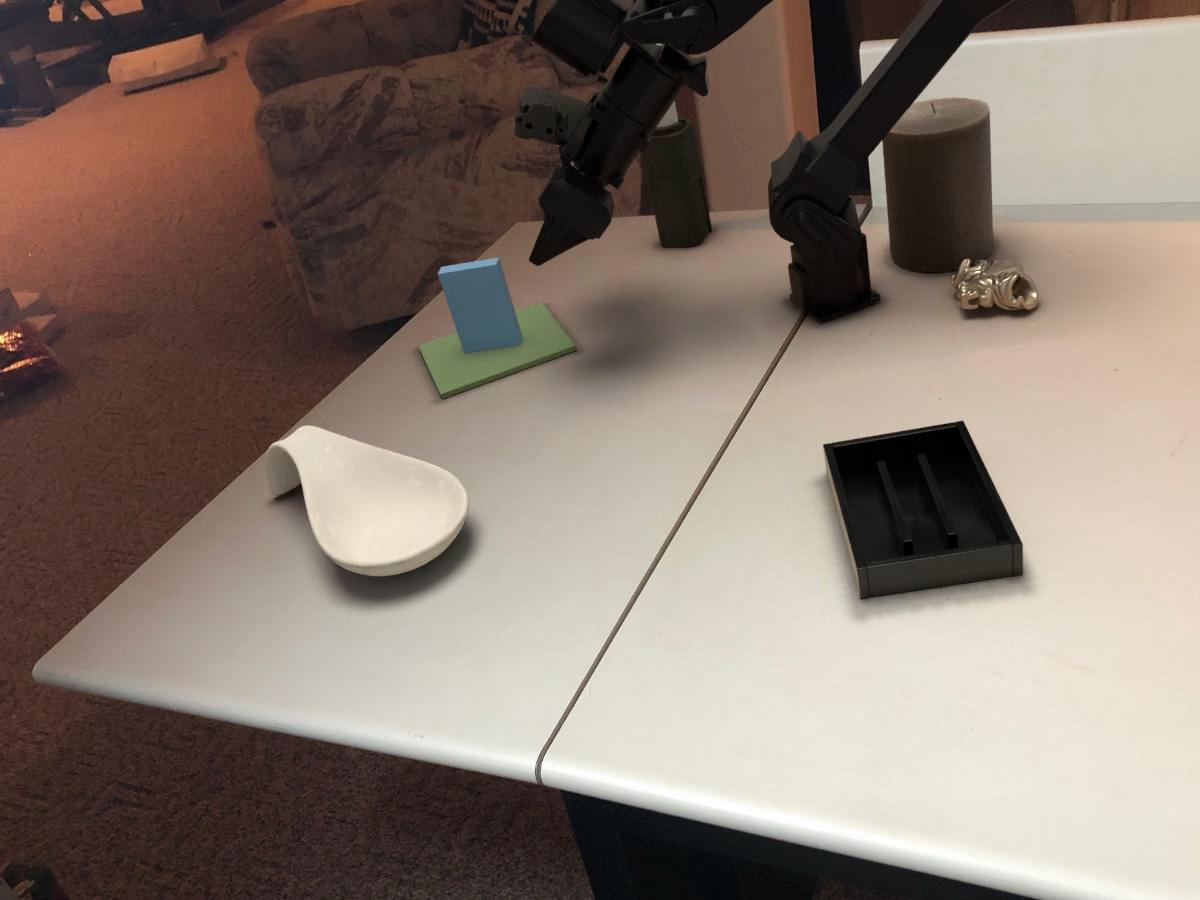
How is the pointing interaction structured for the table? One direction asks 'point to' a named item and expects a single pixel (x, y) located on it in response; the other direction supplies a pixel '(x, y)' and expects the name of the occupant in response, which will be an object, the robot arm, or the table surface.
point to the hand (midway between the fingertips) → (540, 242)
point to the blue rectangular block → (480, 305)
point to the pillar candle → (939, 184)
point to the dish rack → (920, 511)
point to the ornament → (994, 285)
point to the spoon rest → (369, 500)
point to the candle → (677, 182)
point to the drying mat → (495, 353)
